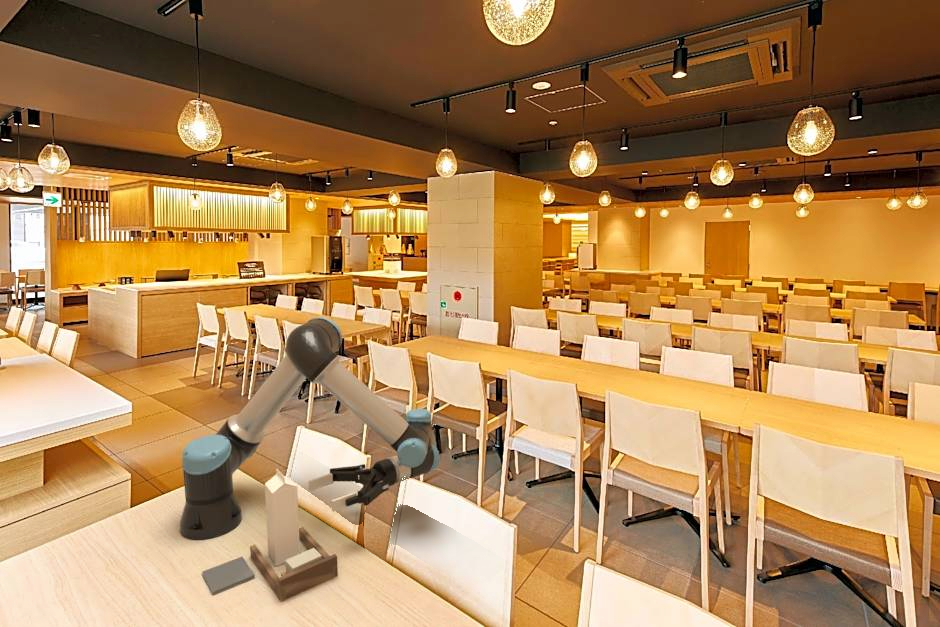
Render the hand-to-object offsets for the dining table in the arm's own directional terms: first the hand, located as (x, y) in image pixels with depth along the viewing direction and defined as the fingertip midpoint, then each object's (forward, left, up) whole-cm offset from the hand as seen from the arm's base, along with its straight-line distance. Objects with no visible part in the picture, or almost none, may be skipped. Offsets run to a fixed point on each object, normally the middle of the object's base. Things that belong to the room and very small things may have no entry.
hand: (320, 495), depth 132 cm
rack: (+5, -10, -13) cm, 17 cm away
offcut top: (+12, -10, -10) cm, 18 cm away
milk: (0, -10, -13) cm, 16 cm away
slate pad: (-1, -23, -13) cm, 26 cm away
